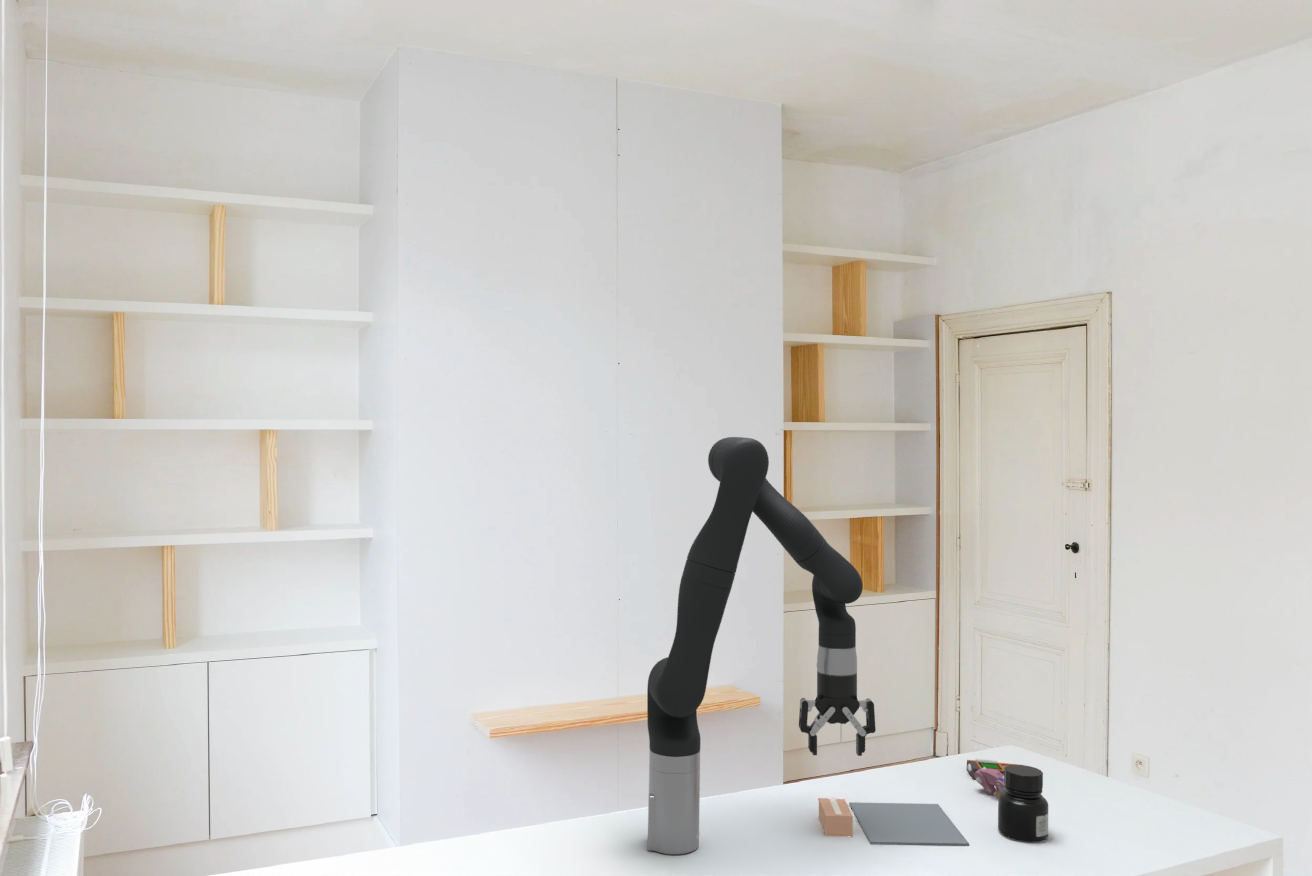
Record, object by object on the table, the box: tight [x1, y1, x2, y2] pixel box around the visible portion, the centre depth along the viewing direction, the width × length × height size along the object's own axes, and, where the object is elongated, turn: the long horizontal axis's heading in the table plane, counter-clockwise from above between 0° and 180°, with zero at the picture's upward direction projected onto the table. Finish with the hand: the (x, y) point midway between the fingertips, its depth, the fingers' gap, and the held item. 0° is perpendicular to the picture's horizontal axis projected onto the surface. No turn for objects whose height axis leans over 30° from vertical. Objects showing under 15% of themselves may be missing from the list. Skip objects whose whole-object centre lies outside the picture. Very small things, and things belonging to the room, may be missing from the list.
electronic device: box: [966, 758, 1020, 780], centre depth 216 cm, size 7×3×15 cm
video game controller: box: [974, 767, 1005, 798], centre depth 203 cm, size 10×5×7 cm, turn 25°
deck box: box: [818, 797, 854, 838], centre depth 185 cm, size 5×9×4 cm, turn 178°
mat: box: [848, 801, 970, 847], centre depth 187 cm, size 18×20×1 cm
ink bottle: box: [997, 764, 1049, 843], centre depth 183 cm, size 10×9×12 cm
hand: (836, 754), depth 185 cm, fingers open, 8 cm apart
